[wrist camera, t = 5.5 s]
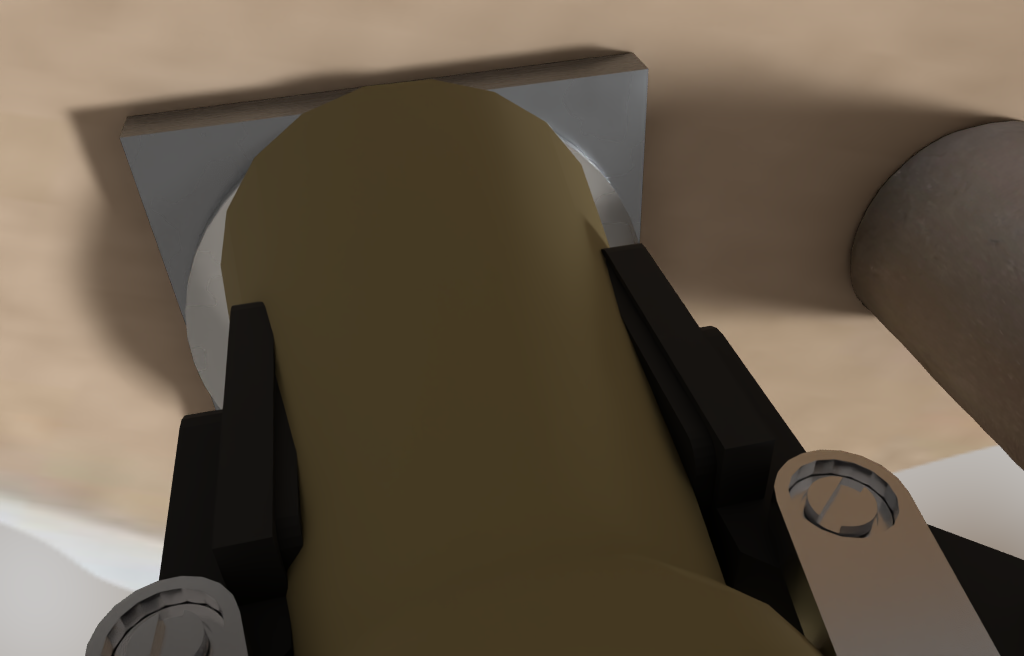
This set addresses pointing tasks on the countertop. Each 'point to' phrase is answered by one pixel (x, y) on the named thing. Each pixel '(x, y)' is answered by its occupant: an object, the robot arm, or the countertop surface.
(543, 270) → the olive knobbed peg
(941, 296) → the pillar candle
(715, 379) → the robot arm
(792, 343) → the countertop surface
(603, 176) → the rosette plate
